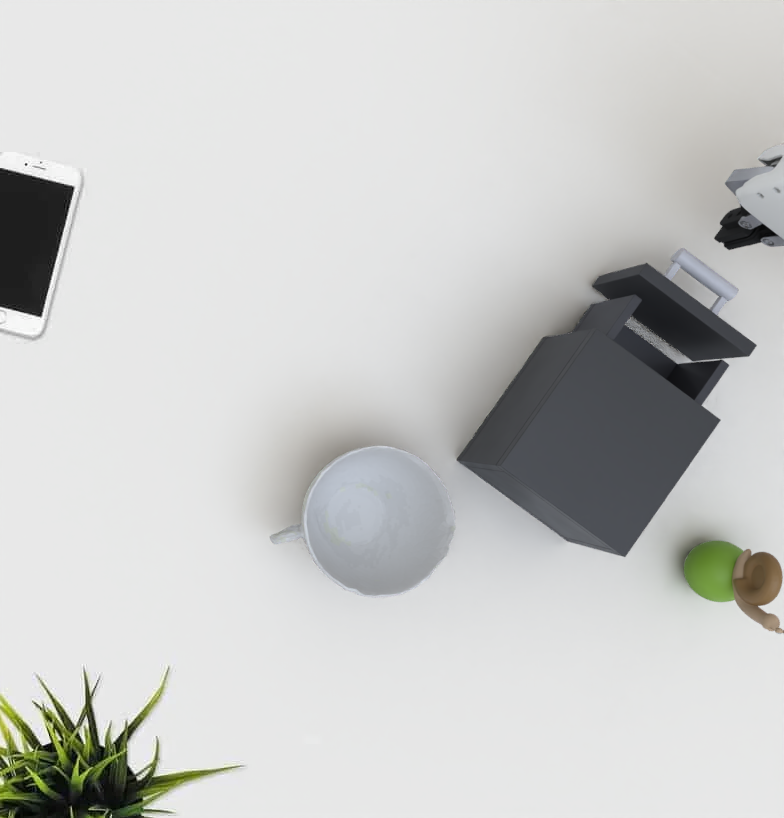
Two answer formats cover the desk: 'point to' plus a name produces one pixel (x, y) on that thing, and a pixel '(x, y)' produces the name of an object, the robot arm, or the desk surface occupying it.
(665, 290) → the fryer drawer
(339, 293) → the desk surface
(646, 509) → the air fryer
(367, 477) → the teacup
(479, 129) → the desk surface
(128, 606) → the desk surface
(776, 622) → the snail figurine
